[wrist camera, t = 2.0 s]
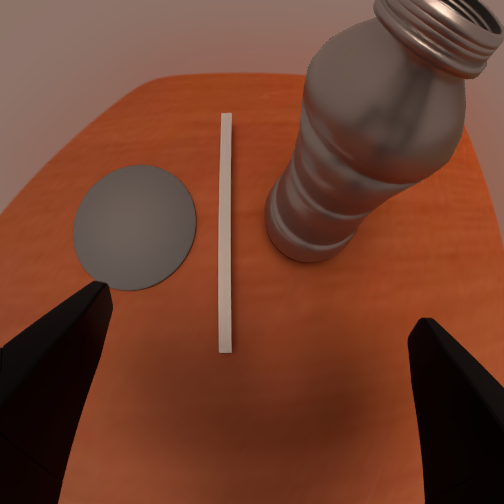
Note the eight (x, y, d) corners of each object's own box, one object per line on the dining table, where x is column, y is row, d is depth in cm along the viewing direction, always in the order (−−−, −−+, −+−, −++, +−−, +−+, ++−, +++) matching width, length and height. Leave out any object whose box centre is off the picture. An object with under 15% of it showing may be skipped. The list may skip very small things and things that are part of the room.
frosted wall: (221, 127, 26) (221, 113, 24) (231, 127, 26) (231, 113, 24) (219, 350, 21) (219, 352, 20) (231, 350, 22) (231, 352, 20)
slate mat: (221, 205, 24) (221, 203, 24) (146, 317, 22) (145, 317, 21) (125, 149, 25) (123, 146, 24) (54, 245, 22) (52, 243, 22)
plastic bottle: (249, 254, 23) (330, -14, 4) (273, 175, 25) (348, -75, 6) (333, 279, 23) (571, 133, 4) (349, 199, 25) (506, 6, 6)
